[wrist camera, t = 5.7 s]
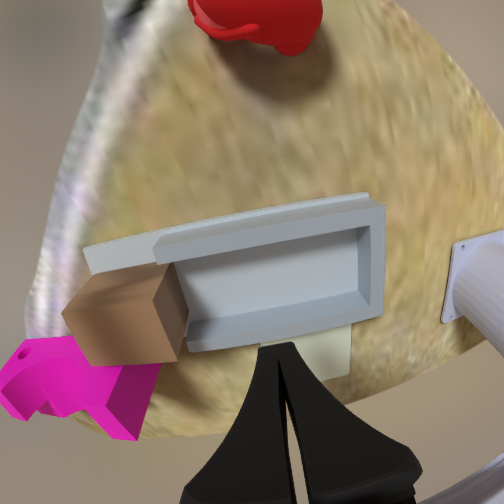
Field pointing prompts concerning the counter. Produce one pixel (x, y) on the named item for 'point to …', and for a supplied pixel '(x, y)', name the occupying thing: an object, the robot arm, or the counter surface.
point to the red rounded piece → (260, 21)
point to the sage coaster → (323, 351)
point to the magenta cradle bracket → (76, 386)
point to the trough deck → (267, 268)
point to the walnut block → (129, 316)
